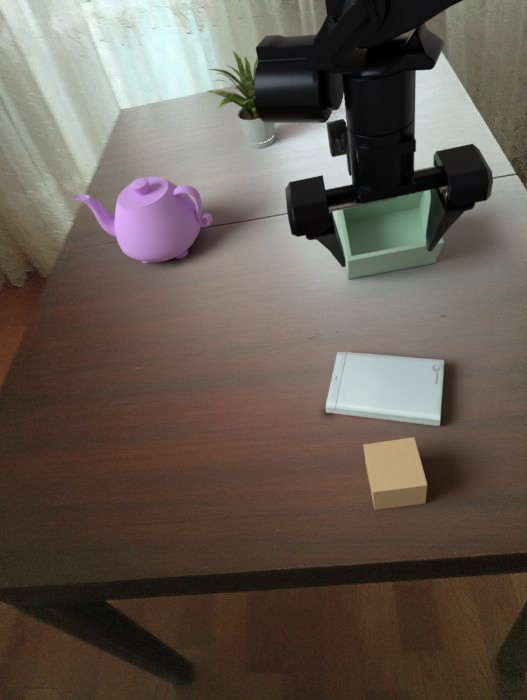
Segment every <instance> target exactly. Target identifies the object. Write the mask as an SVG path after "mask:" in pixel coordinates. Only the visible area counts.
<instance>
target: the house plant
mask: <svg viewBox="0 0 527 700" xmlns="http://www.w3.org/2000/svg"><path fill="white" fill-rule="evenodd" d="M232 54H233V56H234V58H235V62H236V64H237V68H238V70H237V69H236V68H234V67H232V66H230V65H228V64H226V67H228V68H230V69H231V70H233V71H234V72H235V74H236V75H237V76H238V77H239V79H238V78H237V77H236V76H235V75H233V74H232V73H231V72H229V71H227V70H226V69H225V70H224V69H218V68H208V69H206V70H207V71H215V72H217V73H215V74H216V75H217V74H218V75H223V76H225V77H227V78H228V79H229V80H230V81H231V82H232V83H233V84H234V85H233V84H231V86H232V87H233V88H234V89H235V91H236V90H237V91H238V92H240V93H241V94H242V95H243V96H242V95H241V94H239V93H236V92H232V91H226V90H219V89H213V90H206V93H209V94H214V95H216V96H217V95H218V96H220V97H222V98H224V99H222V100H221V101H220V102H219V107H218V109H220V108H221V107H223V106H225V105H227V104H230V103H234V104H236V105H237V106H239V107H240V109H239V110H238V112H237V114H236V115H237V116H236V117H237V118H238V121H239V123H240V125H241V128H242V130H243V133H244V135H245V138H246V140H247V142H248V141H249V142H252V143H259V142H264V141H267V140H268V139H270V138H272V136H273V135H274V137H273V138H272V139H271V140H270V141H268V142H266V143H263V144H251V143H249V142H248V144H249V147H250V148H252V149H255V150H256V149H257V150H259V149H264V148H267V147H269V146H271V145H273V144H274V142H275V139H276V135H275V134H276V133H275V134H274V131H275V123H265V122H263V121H262V120H261V119H260V118H259V116H258V114H257V112H256V109H255V105H254V100H253V95H254V94H255V90H254V80H255V71H256V67H257V63H258V57H257V56H256V59H255V60H254V65H253V72H252V69H251V65H250V61H249V59H248V58H247V57H245V56H244V64H245V65H244V64H243V61H242V58H241V57H240V56H239V55H238V54H237V52H236V51H234V50H232ZM244 66H245V67H244ZM252 73H253V74H252ZM213 81H217V79H215V80H213ZM218 81H220V82H223V83H224V82H225V83H226V80H222V79H218ZM237 84H238V85H237Z"/></svg>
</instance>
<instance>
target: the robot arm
mask: <svg viewBox="0 0 527 700" xmlns="http://www.w3.org/2000/svg"><path fill="white" fill-rule="evenodd" d="M463 1H464V0H324V3H325V11H326V17H325V19H324V20H323V23H322V25H321V27H320V29H319V30H318V31H317V32H316V34H308V35H306V34H305V35H293V36H285V35H280V34H272V35H265V36H264V37H263V38H262V39H261V40H260V42H259V43H258V44H257V45H256V46H255V52H256V58H257V57H258V62H257V65H256V71H255V80H254V90H255V94H254V95H253V100H254V105H255V109H256V112H257V114H258V116H259V118H260V119H261V120H262V121H263V122H265V123H274V124H324V123H326V132H327V138H328V139H327V140H328V147H329V153H330V156H331V157H332V158H336V157H340V156H345V155H346V166H347V172H348V175H349V176H350V177H351V184H347V185H341V186H337V187H332V188H327V189H326V187H325V186H326V185H325V180H324V175H323V174H321V175H317V176H312V177H307V178H303V179H297V180H293V181H289V182H288V184H287V186H286V187H285V189H284V190H285V203H286V211H287V212H286V213H287V219H288V224H289V229H290V233H291V235H293V236H294V237H297V238H298V237H304V236H305V239H306V240H307V241H315V240H316V241H317V242H319V243H320V244H321V245H322V246H323V247H325V248H326V249H327V250H328V251H329V252H330V253H331V255H332V256H333V257H334V258H335V260H336V261H337V263H339V265H340V266H341V267H342V268H346V261H345V255H344V250H343V246H342V243H341V240H340V234H339V229H338V225H337V224H336V223H337V222H336V220H335V219H336V218H335V216H334V212H337V210H342V209H347V208H352V207H357V206H362V205H367V204H372V203H378V202H383V201H388V200H393V199H396V198H397V197H398V196H403V195H409V194H414V193H417V192H422V191H427V190H430V193H431V200H430V207H429V215H428V222H427V229H426V248H427V250H428V252H430V251H432V250H433V249H434V248H435V246H436V245H437V244H438V242H439V241H440V239H441V238H442V237H443V238H444V235H445V234H446V233H447V232H448V230H449V229H450V228H451V227H452V226H453V225H454V224H455V223H456V221H458V219H459V218H460V217H461V216H462V215H463V214H464V213H465V212H467V211H471V210H473V209H474V208H475V206H476V203H481V202H486V201H487V200H489V198H490V197H491V196H492V190H493V184H494V177H493V170H492V169H491V167H490V166H489V164H488V163H487V161H486V158H485V157H484V155H483V153H482V152H481V150H480V149H479V148H478V147H477V145H475V144H474V143H469V144H465V145H460V146H454V147H451V148H445V149H441V150H436V151H435V153H434V154H433V163H432V164H433V165H432V166H429V167H425V168H419V169H418V168H417V169H415V153H416V152H417V139H416V137H415V136H416V82H417V81H416V77H417V76H416V73H417V71H432V70H433V69H434V68H435V67H436V65H437V62H438V61H439V59H440V56H441V54H442V51H443V49H444V47H445V41H444V39H442V38H441V37H439V35H437V34H435V33H434V32H433V31H431V30H430V29H429V28H428V26H427V25H426V23H427V22H429V21H430V20H432V19H434V18H435V17H437V16H438V15H439V14H441V13H443V12H444V11H446V10H448V9H449V8H451V7H453V6H454V5H457V4H459V3H461V2H463ZM409 32H410V33H409ZM343 100H344V109H345V110H344V111H345V119H344V118H340V119H336V120H332V121H329V119H330V118H331V115H332V113H333V111H338V110H339V109H340V108H341V105H342V103H343ZM345 120H346V121H345Z"/></svg>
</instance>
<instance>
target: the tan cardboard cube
mask: <svg viewBox="0 0 527 700" xmlns="http://www.w3.org/2000/svg"><path fill="white" fill-rule="evenodd" d="M363 452H364V453H363V454H364V461H365V469H366V473H367V480H368V484H369V488H370V493H371V499H372V504H373V510H374V511H375V510H376V511H377V510H384V509H385V510H386V509H392V508H400V507H408V506H416V505H424V504H426V503H427V493H428V481H427V478H426V474H425V470H424V467H423V463H422V460H421V456H420V455H421V454H420V452H419V448H418V444H417V442H416V438H415V437H414V436H413V437H405V438H400V439H399V438H398V439H393V440H392V439H391V440H385V441H384V440H383V441H379V442H371V443H364V444H363Z"/></svg>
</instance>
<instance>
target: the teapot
mask: <svg viewBox="0 0 527 700" xmlns="http://www.w3.org/2000/svg"><path fill="white" fill-rule="evenodd" d="M190 196H191V197H190ZM73 198H74V199H75V200H77V201H80V202H82V203H84V204H85V205H86V206H87V207H88V208H89V209H90V210H91V212H92V213H93V215H94V216H95V218H96V220H97V222H98V223H99V225H100V227H101V228H102V230H104V231H105V232H106V233H107V234H108V235H111V236H112V237H114V238H116V240H117V243H118V246H119V248H120V249H121V251H122V252H123V253H124V254H125V255H126V256H127V257H129V258H131V259H133V260H137V261H139V262H141V263H142V264H149V263H161V262H165V261H169V260H171V259H175V258H176V259H183V258H185V257H186V256H187V255H188V254H189V251H188V249H190V248H191V247H192V245H193V244H194V242H195V241H196V239H197V238H198V235H199V233H200V231H201V228H208V227H209V226H210V225H211V224H212V223H213V216H212V215H211V213H209V212H206V211H205V212H203V205H202V204H203V203H202V197H201V194H200V192H199V191H198V189H196V188H195V187H193V186H191V185H188V184H186V185H185V184H183V185H179V186H177V184H175V183H174V182H172V181H170V180H168V179H167V178H164V177H161V176H148V177H147V176H146V177H138V178H135V179H134V180H132V182H130V183H129V184H128V185H127V186H125V188H123V189H122V191H120V193H119V195H118V197H117V200H116V205H115V209H114V210H115V211H114V214H112V213H110V212H108V211H107V210H106V209H105V208H104V206H102V204H101V203H100V202H99V200H97V199H96V198H95V197H94V196H91V195H89V194H75V195H73Z"/></svg>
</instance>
